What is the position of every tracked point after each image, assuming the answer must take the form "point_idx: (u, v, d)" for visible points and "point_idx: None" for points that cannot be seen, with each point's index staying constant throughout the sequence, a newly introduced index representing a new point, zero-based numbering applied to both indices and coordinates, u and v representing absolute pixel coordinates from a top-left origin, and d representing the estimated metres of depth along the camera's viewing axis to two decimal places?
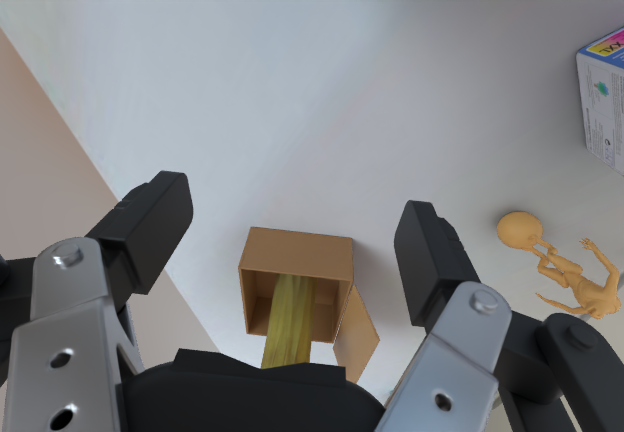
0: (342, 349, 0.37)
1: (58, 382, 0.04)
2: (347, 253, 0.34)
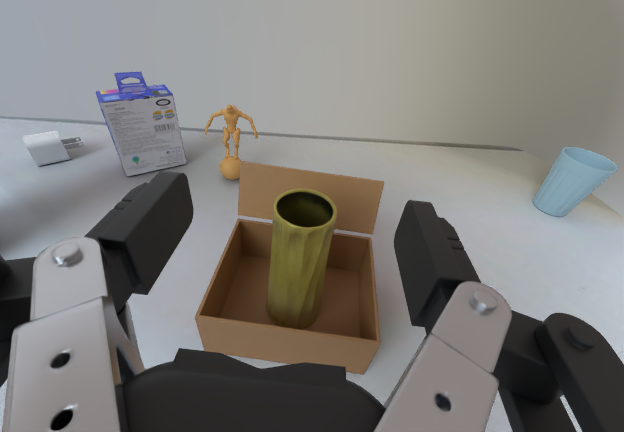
0: (338, 212, 0.32)
1: (58, 382, 0.04)
2: None
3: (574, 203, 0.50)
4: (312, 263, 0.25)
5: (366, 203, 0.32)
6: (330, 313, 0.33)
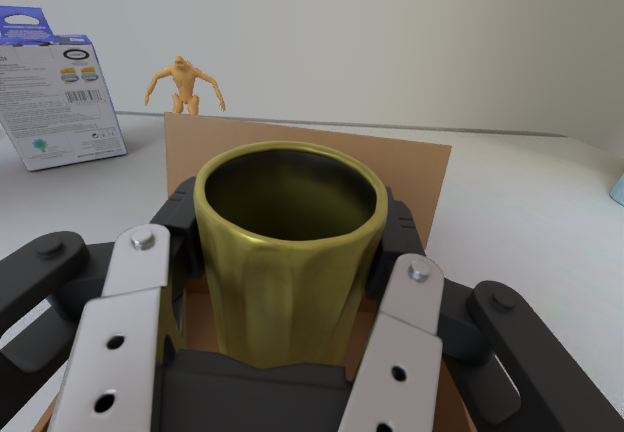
0: None
1: (109, 363, 0.04)
2: None
3: None
4: (318, 341, 0.09)
5: (415, 190, 0.16)
6: None
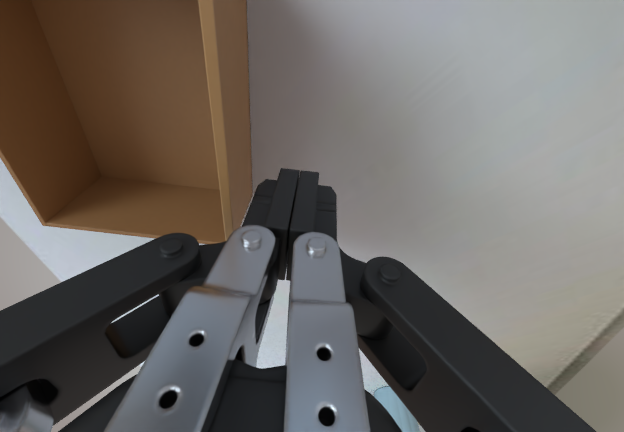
0: None
1: (184, 359, 0.05)
2: None
3: None
4: None
5: None
6: (160, 146, 0.22)
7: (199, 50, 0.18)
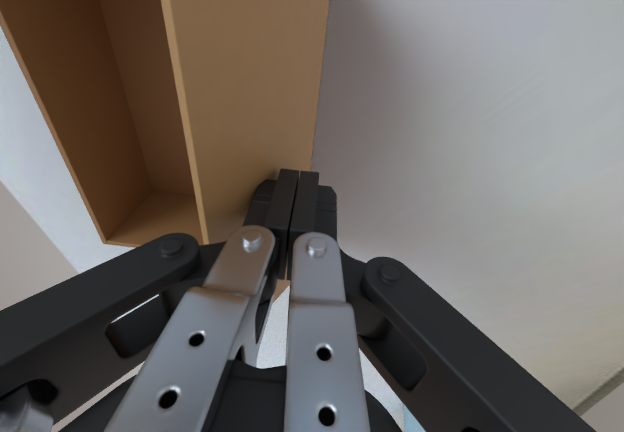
0: None
1: (184, 360, 0.05)
2: None
3: (404, 429, 0.44)
4: None
5: None
6: None
7: None
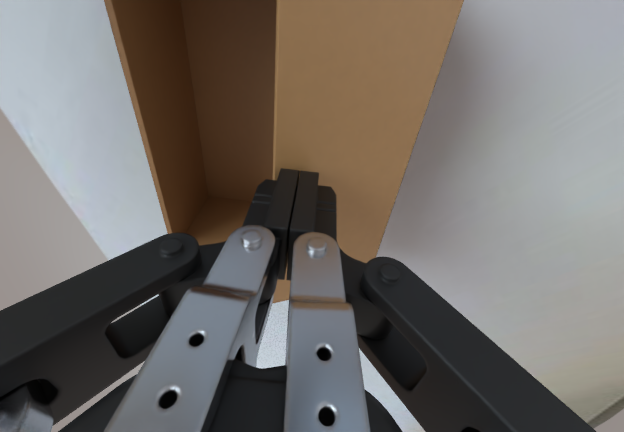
0: None
1: (184, 359, 0.05)
2: None
3: None
4: None
5: None
6: None
7: None
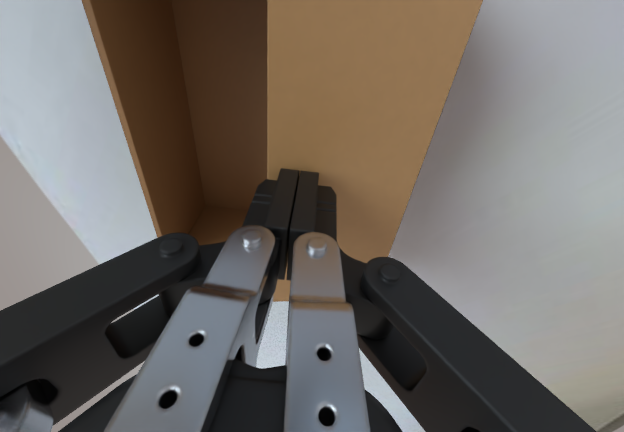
0: None
1: (184, 359, 0.05)
2: None
3: None
4: None
5: None
6: None
7: None
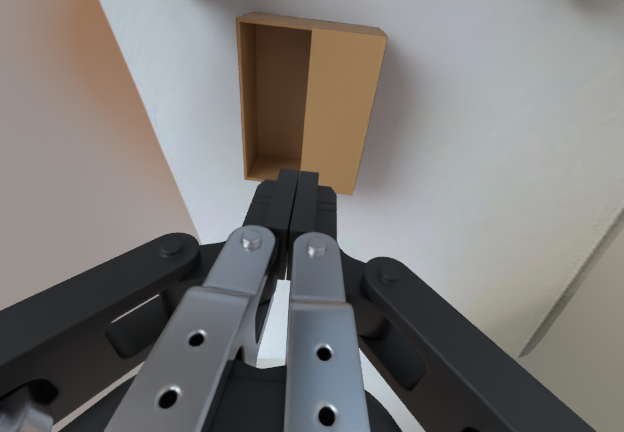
0: None
1: (184, 359, 0.05)
2: (375, 29, 0.27)
3: None
4: None
5: None
6: (301, 135, 0.36)
7: None
